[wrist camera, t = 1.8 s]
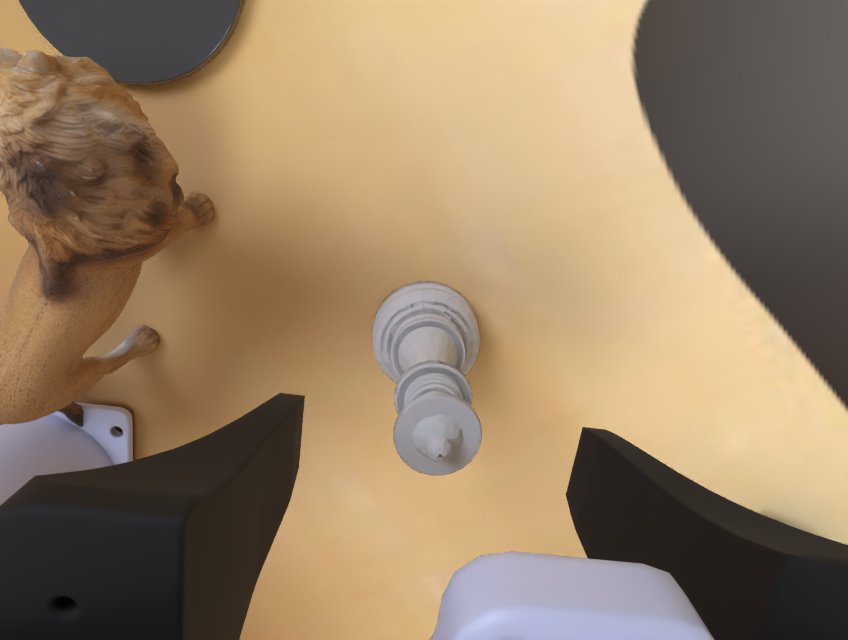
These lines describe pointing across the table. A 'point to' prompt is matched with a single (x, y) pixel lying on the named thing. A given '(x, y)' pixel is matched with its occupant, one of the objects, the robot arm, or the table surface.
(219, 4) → the coaster
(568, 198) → the table surface
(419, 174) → the table surface
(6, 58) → the lion figurine
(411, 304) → the chess piece
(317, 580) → the table surface
